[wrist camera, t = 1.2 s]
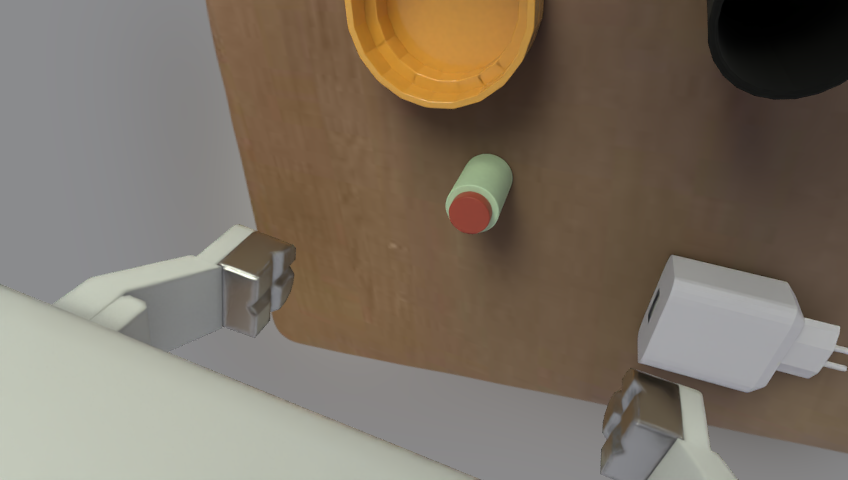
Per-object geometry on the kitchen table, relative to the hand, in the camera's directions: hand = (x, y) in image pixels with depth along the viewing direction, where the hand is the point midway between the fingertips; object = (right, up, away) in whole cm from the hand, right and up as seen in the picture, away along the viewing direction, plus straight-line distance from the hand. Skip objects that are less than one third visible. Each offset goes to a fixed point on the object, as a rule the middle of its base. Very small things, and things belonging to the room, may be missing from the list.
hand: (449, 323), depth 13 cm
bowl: (+2, +20, +28) cm, 34 cm away
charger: (+26, -4, +35) cm, 44 cm away
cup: (+20, +18, +22) cm, 35 cm away
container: (+5, +7, +35) cm, 36 cm away
